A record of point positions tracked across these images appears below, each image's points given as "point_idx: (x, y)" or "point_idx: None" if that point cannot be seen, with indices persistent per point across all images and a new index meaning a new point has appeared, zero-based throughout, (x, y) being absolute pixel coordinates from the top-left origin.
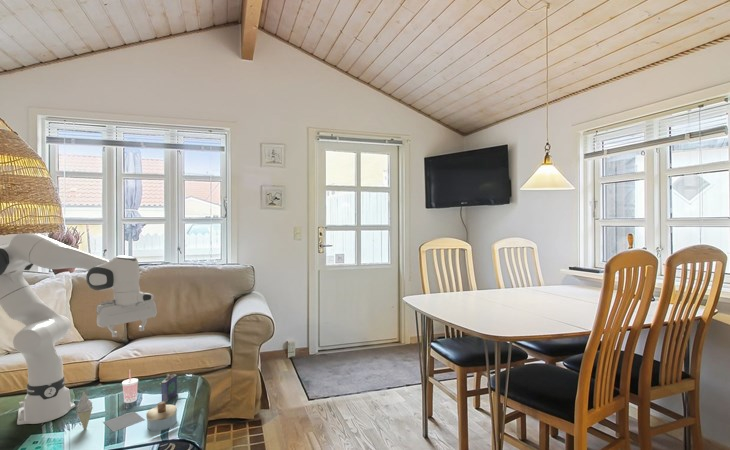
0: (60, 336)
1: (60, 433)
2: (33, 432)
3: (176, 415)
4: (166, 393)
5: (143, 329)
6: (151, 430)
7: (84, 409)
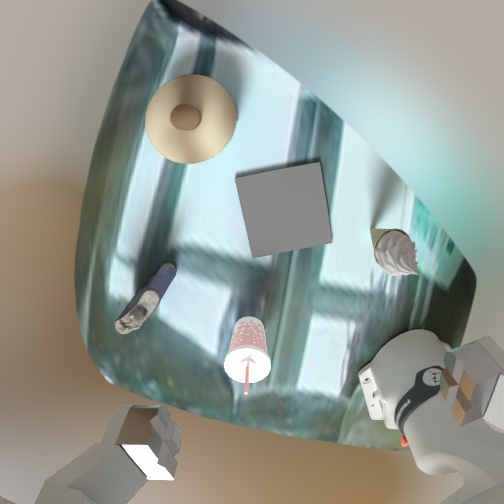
0: None
1: None
2: (443, 296)
3: None
4: (157, 273)
5: (123, 411)
6: None
7: (398, 235)
